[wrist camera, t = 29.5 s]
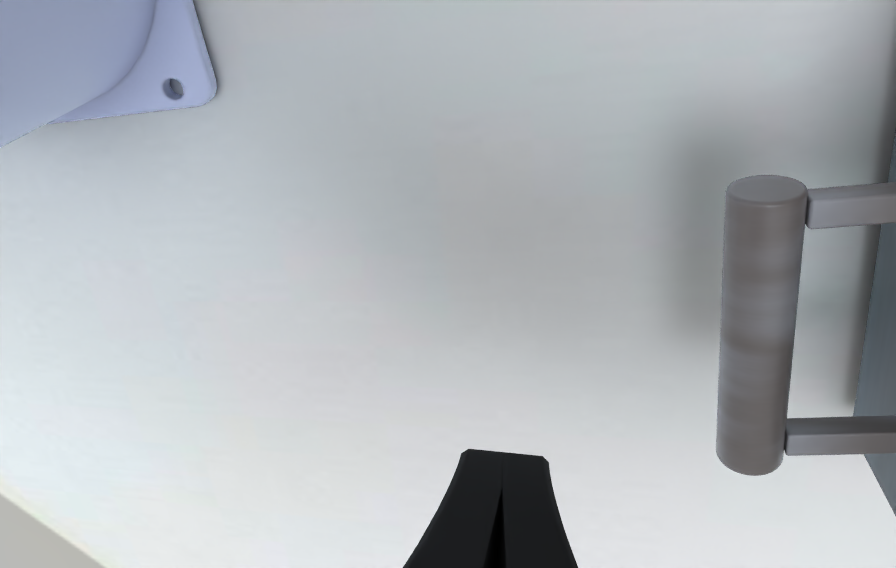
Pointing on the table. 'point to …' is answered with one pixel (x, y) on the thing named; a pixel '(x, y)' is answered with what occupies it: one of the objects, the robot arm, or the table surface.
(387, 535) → the table surface
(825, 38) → the table surface
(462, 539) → the robot arm
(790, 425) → the drawer
